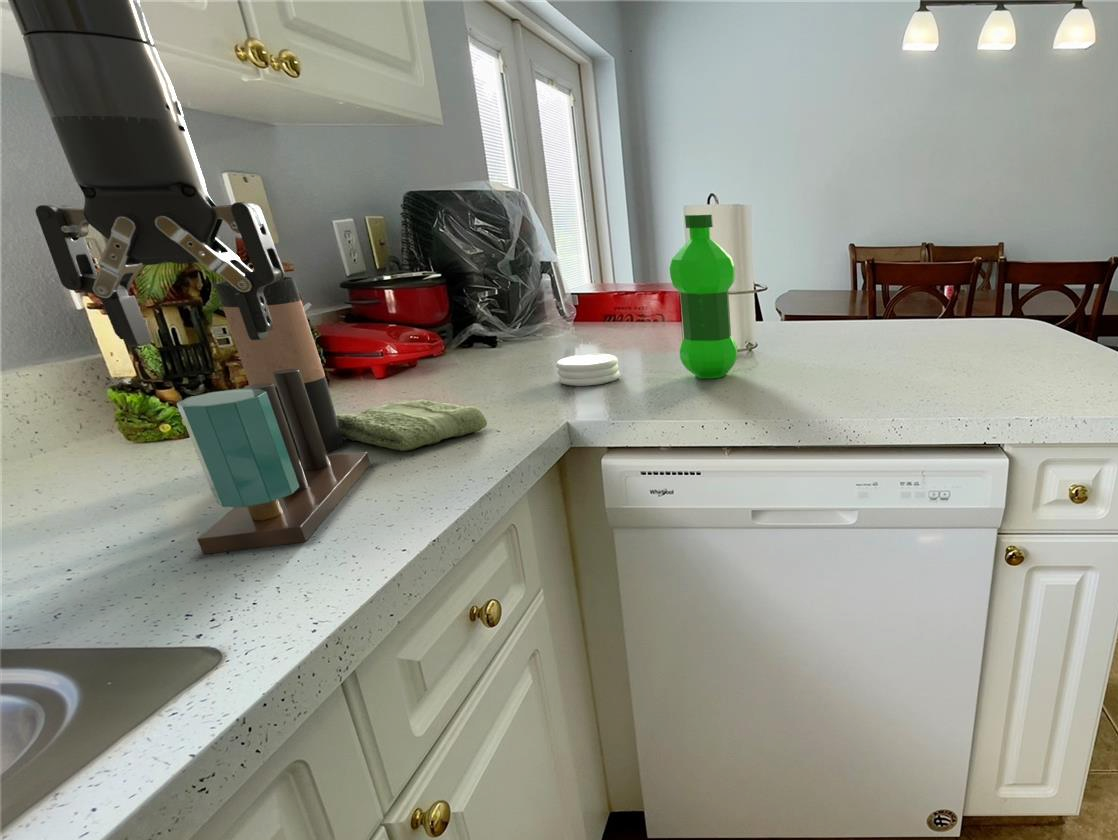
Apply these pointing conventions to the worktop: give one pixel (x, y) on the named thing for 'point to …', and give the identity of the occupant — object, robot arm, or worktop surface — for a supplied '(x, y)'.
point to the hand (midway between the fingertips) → (201, 341)
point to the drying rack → (314, 471)
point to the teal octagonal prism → (239, 446)
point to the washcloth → (410, 424)
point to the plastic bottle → (704, 301)
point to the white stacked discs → (588, 369)
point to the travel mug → (284, 351)
